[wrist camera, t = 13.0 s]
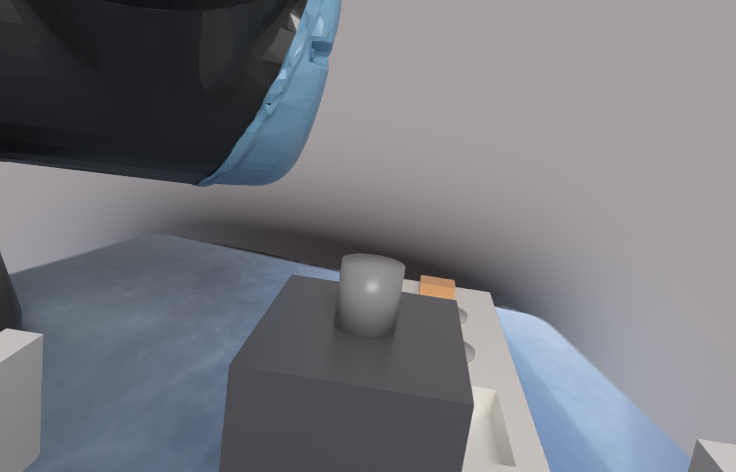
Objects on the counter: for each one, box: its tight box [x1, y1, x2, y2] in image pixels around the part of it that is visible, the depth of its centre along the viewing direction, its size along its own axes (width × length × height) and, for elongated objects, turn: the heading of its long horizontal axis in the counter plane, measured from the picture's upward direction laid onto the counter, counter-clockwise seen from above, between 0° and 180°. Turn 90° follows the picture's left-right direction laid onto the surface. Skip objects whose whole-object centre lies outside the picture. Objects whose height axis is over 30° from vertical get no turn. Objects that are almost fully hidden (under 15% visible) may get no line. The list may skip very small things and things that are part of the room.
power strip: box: [401, 275, 550, 472], centre depth 36 cm, size 26×8×3 cm, turn 175°
